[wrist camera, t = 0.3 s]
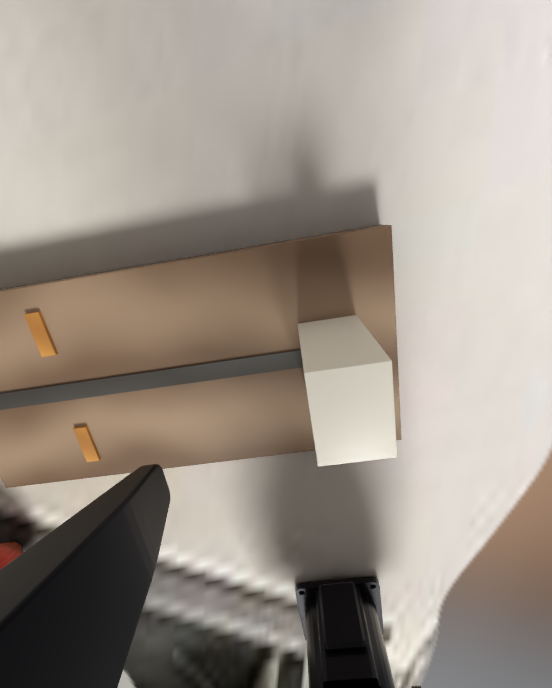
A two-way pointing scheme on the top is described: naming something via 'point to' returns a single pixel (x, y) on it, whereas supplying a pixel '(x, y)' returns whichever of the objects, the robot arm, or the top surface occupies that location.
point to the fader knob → (348, 391)
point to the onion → (9, 552)
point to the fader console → (180, 356)
